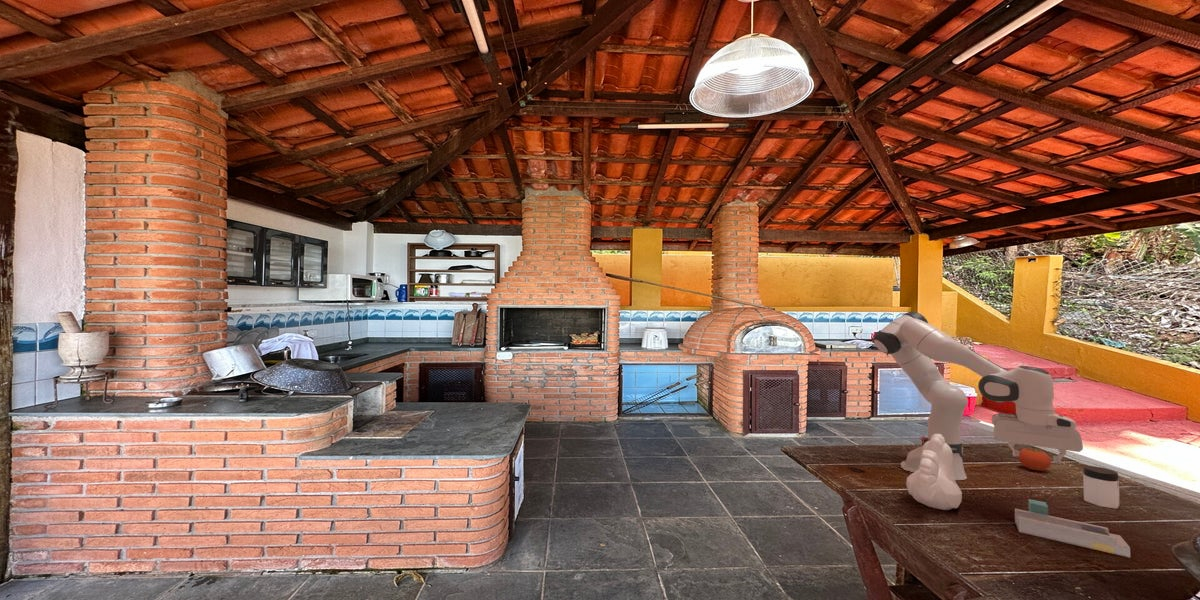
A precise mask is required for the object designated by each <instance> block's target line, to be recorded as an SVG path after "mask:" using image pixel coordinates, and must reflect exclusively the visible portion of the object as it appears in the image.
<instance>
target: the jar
mask: <svg viewBox="0 0 1200 600" xmlns="http://www.w3.org/2000/svg"><path fill="white" fill-rule="evenodd" d="M1082 476H1083V478H1082V479H1083V481H1082V482H1083V501H1084V502H1087V503H1089V504H1092V505H1095V506H1098V507H1101V508H1107V509H1108V508H1109V509H1115V510H1117V509H1118V508H1119V507H1120V486H1119V485H1120V482H1119V481H1120V480H1119V473H1118V472H1117V471H1115V470H1112V469H1109V468H1105V467H1100V466H1093V465H1086V466H1085V465H1084V466H1083V475H1082Z"/></svg>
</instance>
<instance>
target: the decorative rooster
mask: <svg viewBox="0 0 1200 600" xmlns="http://www.w3.org/2000/svg"><path fill="white" fill-rule="evenodd" d="M952 462H953V453H952V450H951V448H950V446H949V445H948V444H946V443H945V439H944V437H943V436H942V435H941V434H934V435H932V436H931V439H930V440H929V441H927V442H926V443H925V444H924V445H923V449H922V454H921V458H920V465H919V468H918V470H917V471H916V472H914V473H910V475H908V476H907V477H906V484H905V485H906V488H907V492H908V494H909V495H910V496H912V498H913V499H914V500H916V502H918V503H921V504H923V505H925V506H927V507H929V508H931V507H932V509H938V510H942V511H949V510H952V509H958V508H959V506H960V504H961V503H962V500H963V496H962V495H963V492H962V490H961V488H960V487H959V485H958V484H957V482H956V481H957V480H956V479H955V476H954V472H953V465H952Z"/></svg>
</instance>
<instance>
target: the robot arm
mask: <svg viewBox="0 0 1200 600" xmlns="http://www.w3.org/2000/svg"><path fill="white" fill-rule="evenodd" d="M872 341H873V344H874V346H875V347H876V348H877V349H878V350H879V351H880V352H881V353H883V354H886V355H890V356H892V358H893V360H894V361H895V363H896V364H898V366H899V367H900V368H901V370H902V371H903V372H904V373H905V374H906V375H907V377H908V378H909V379H910V380H911V382H912V383H913V384H914V386H915V387H916V389H917V391H918V392H919V393H920V394H921V396H923V398H924V399H925V400H926V401H927V402H928V403H929V404H931V409H930V413H929V417H928V418H927V423H926V424H927V437H926V436H925V435H924V436H923V435H922V436H921V437H920V440H921V446H918V447H917V448H915V449H912V450H910V451H909V452H908V454H907V456H906V459H905V460H903V461H901V462H900V465H901V467H900V468H903V469H904V470H907V471H910V472H909V473H911V472H916V471H917V470H918V468H919V465H920V458H921V454H922V449H923V445H924V444H925V443H926V442H927V441H929V440H930V439H931V436H932V435H934V434H941V435H942V436H943V437H944V439H945V443H946V444H948V445H949V446H950V448H951V450H952V453H953V462H952V465H953V472H954V476H955V479H956V481H964V480H967V478H968V477H967V474H966V471H965V469H964V463H963V462H964V461H963V456H964V448H963V443H962V433H961V431H962V430H961V429H962V427H961V425H962V420H963V415H964V411H965V409H966V407H968V403H969V399H968V397H967V395H966V393H965V392H964V391H963V390H962V389H961V388H960V387H958V386H956V385H954V384H951V383H950V382H948V381H947V380H946V379H945V377H943V375H942V374H941V372H940V370H939V369H938V366H937V365H936V364H935V363H934V361H936V362H941V363H950V364H955V365H958V366H962V367H964V368H966V369H969V370H970V371H972V372H973V373H974V374H976V375H979V376H980V377H981V378H980V379H979V381H978V385H977V388H978V391H979V393H980V394H981V396H983V397H984V398H985V399H986V400H989V401H992V402H996V403H1007V402H1008V403H1009V402H1012V403H1014V404H1015V414H1014V413H1013V414H1012V413H1004V412H997V413H994V414H992V417H991V423H992V424H993V432H992V433H993V438H994V439H995V440H996V441H997V442H1005V443H1007V445H1008V446H1009V448H1010V450H1011V451H1012V457H1015V458H1018V457H1019V452H1020V450H1015V448H1014V447H1015V444H1018V445H1019V444H1020V445H1025V446H1032V447H1041V448H1047V449H1054V450H1056V449H1057V452H1059V453H1058V454H1057V455H1053V460H1052V461H1053V463H1055V464H1060V465H1061V464H1062V459H1063V458H1064V456H1065V455H1067V451H1070V452H1076V453H1080V452H1082V451H1083V450H1084V445H1083V439H1082V436H1081V434H1080V431H1078V429H1076V427H1077V423H1076V421H1075V420H1074V419H1072V418H1070V417H1068V416H1065V415H1061V414H1058V413H1055V407H1054V404H1053V402H1054V401H1053V400H1054V398H1055V392H1054V391H1055V390H1054V381H1053V379H1052V375H1051V373H1050V372H1049V371H1047V370H1045V369H1043V368H1040V367H1035V366H1031V365H1030V366H1028V365H1018V366H1017V367H1016V368H1012V369H1007V368H1004V367H1002V366H1001V365H998V364H997V363H995V362H993V361H991V360H990V359H989V358H986V357H984V356H982V355H981V354H979V353H977V352H975V351H974V350H972V349H970V348H969V347H967V346H965V345H964V344H962V343H960V342H959V341H957V340H956V339H955V338H953V337H952V336H950V335H948V334H947V333H946V332H945V331H942V330H941V329H939V328H937V327H936V326H934V325H932V324H930V323H929V322H928V320H927V319H926V317H925V316H924V315H923V314H921V313H919V312H917V311H913V310H911V311H908V312H906V313H903V314H902V315H901V316H898V317H897V318H895V319H893V320H892V321H890V322H889V324H887V325H886V326H884V327H883V328H882V329H880V331H877V332H876V333H875V335H874V336H873V338H872ZM903 469H902V470H903ZM904 470H903V471H904ZM907 471H906V472H907Z"/></svg>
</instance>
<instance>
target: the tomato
mask: <svg viewBox="0 0 1200 600" xmlns="http://www.w3.org/2000/svg"><path fill="white" fill-rule="evenodd" d="M1032 447H1033V448H1031V447H1027V448H1026V447H1025V448H1023V449H1021V450H1019V457H1017V459H1018V461H1019V463H1020V464H1022V466H1024V467H1025V468H1026V469H1029V470H1032V471H1036V472H1037V471H1038V472H1039V471H1040V472H1041V471H1045V470H1047V469H1049V468H1050V467H1051V465H1052V459H1051V458H1050V456H1049V455H1048V453H1046V452H1044V451H1043V450H1041V449H1036V448H1035V446H1032Z"/></svg>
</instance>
